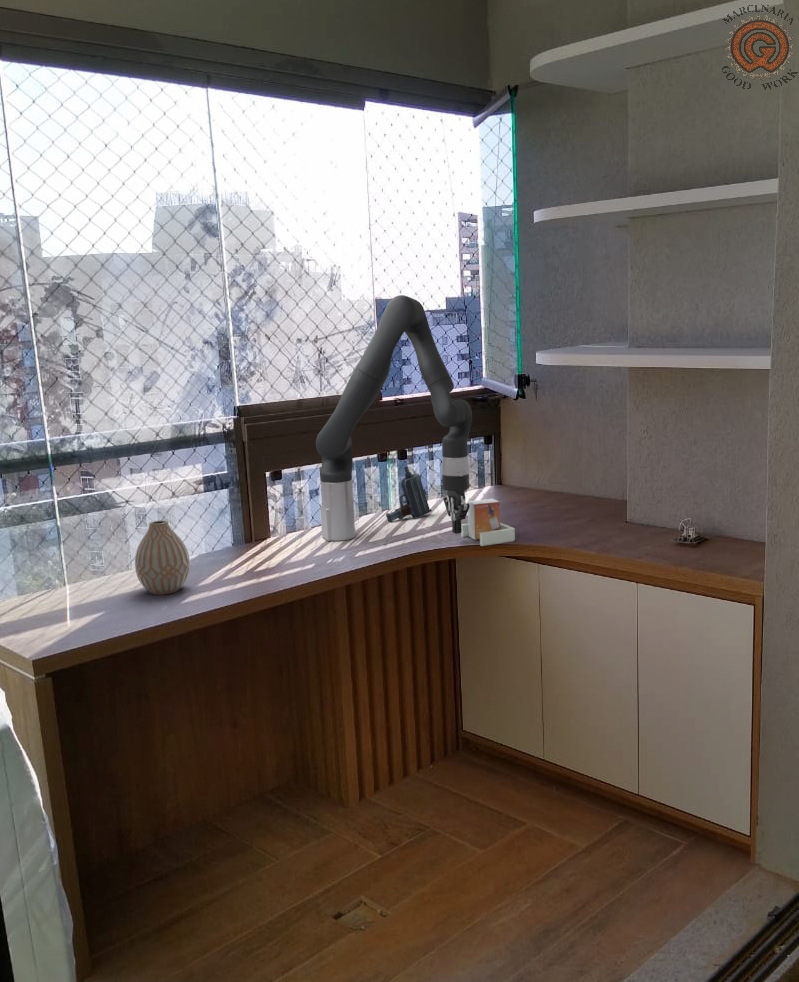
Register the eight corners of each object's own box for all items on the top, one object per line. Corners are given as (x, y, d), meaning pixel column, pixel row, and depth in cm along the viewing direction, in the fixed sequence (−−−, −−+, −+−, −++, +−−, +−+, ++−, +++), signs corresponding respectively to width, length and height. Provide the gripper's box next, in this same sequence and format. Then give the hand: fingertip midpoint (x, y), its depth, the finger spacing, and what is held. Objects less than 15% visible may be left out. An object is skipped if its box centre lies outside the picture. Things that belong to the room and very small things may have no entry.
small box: (474, 540, 269) (473, 504, 267) (468, 536, 275) (466, 500, 273) (501, 537, 271) (500, 501, 269) (494, 533, 277) (493, 497, 275)
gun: (374, 479, 295) (413, 461, 301) (389, 528, 300) (427, 509, 306) (378, 480, 293) (418, 462, 299) (393, 529, 298) (432, 510, 304)
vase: (128, 592, 235) (120, 523, 232) (174, 580, 244) (167, 513, 241) (155, 602, 226) (148, 530, 223) (202, 589, 235) (196, 520, 231)
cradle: (482, 545, 263) (481, 533, 262) (461, 536, 275) (460, 524, 275) (516, 540, 267) (515, 528, 266) (493, 531, 279) (493, 519, 278)
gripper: (433, 470, 268) (435, 529, 272) (453, 477, 256) (454, 539, 260) (457, 467, 271) (459, 526, 274) (478, 474, 259) (479, 536, 262)
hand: (457, 532), depth 267 cm, fingers closed
